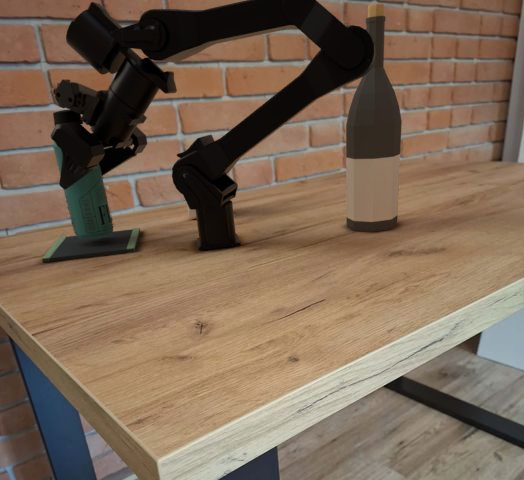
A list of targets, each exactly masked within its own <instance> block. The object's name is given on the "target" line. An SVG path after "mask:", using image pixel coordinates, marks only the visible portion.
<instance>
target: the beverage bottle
mask: <svg viewBox="0 0 524 480" xmlns="http://www.w3.org/2000/svg"><path fill="white" fill-rule="evenodd" d="M52 116H53V125H54V127H55V126H56V124H63V123H72V122H79V123H80V124H81V125H84V122H83V121H82V120H81V118H82V114H79V113H76V112H74V111H72V110H70V109H62V110H58V111H55V112H52ZM52 148H53V151H54V155H55V159H56V164H57V168H58V172H59V176H60V175H61V168H62V156H63V155H62V151H61V149H60V148H59V147H58V146H57V145H56V143H55V142H54V141H53V143H52ZM99 164H100V163H98V164H97V165H98V166H97V167H96V168H95V169H93V170H92V171H91V172H89V173H88V174H87V175H85V176H84V177H83V178H81V179H80V180H78V181H77V182H76V183H74V184H73V185H72V186H70V187H69V188H67V189H65V190H64V189H63V194H64V198H65V203H66V207H67V211H68V212H67V213H68V214H69V220H70V222H71V225H72V226H71V227H72V231H73V233H74V234H75V236H77V237H79V238H92V237H98V236H103V235H107V234H110V233H112V232H114V226H115V225H114V222H113V216H112V215H113V214H111V209H110V206H109V201H108V193H107V191H106V186H105V183H104V177H103V176H102V171H101V170H102V169H100V166H101V165H99Z"/></svg>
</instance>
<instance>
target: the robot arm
mask: <svg viewBox="0 0 524 480" xmlns="http://www.w3.org/2000/svg"><path fill="white" fill-rule="evenodd" d="M290 29H298V30H299V31H301V33H302V34H303V35H305V36H306V37H307V38H308V39H309V40H310V42H312V43H313V44H314V45H316V46H317V47H318V48H319V50H318V52H317V53H316V54H315V55H314V57H313V58H312V59H311V61H310V62H309V63H308V65H306V67H305V68H304V69H303V71H302V72H301V73H300V74H299V75H298V76H296V77H295V78H294V79H292V81H290V82H289V83H287V85H285V86H284V87H283V88H281V89H280V90H279V91H278V92H276V93H275V94H274V95H272V96H271V97H270V98H269V99H268V100H266V101H265V102H264V103H262V104H261V105H260V106H259V107H258V108H256V109H255V110H254V111H253V112H251V113H250V114H249V115H247V117H245V118H244V119H243V120H242V121H240V122H239V123H238V124H237V125H235V126H234V127H232V128H231V129H230V130H229V131H228V132H226V133H225V134H224V135H222V136H221V137H219V138H218V139H216V140H215V138H214V136H213V134H207V135H203V136H200V137H197V138H196V139H195V140H194V141H193V142H192V143H191V145H190V146H189V147H188V148H187V149H185V151H181V152H179V153H177V154H176V157H178V159H177V160H176V162H174V164H173V166H172V168H171V178H172V183H173V185H174V187H175V189H176V190H177V191H178V192H179V194H181V195H182V196H183V198H184V200H185V202H186V205H187V204H188V206H189V208H190V209H191V210H196V218H195V219H196V224H197V232H198V237H196V245H197V250H198V251H206V250H214V249H221V248H229V247H230V248H231V247H238V246H241V245H242V244H241V239H240V238H239V236H238V233H236V225H235V215H234V206H233V205H234V203H233V201H232V199H235V198H236V196H237V191H238V187H239V185H238V183H237V182H236V181H235V180H234V179H233V178H232V177H230V175H229V173H230V172H231V171H232V169H233V168H234V167H235V166H236V164H237V163H238V161H239V160H241V158H242V157H243V156H245V155H246V154H248V153H249V152H250V151H252V150H253V149H254V148H256V147H257V146H259V145H260V144H261V143H263V142H264V141H265V140H266V139H268V138H269V137H270V136H271V135H272V134H274V133H275V132H276V131H278V130H280V129H282V127H284V125H286V124H287V123H289V122H290V121H291V120H293V119H294V118H296V116H298V115H299V114H300V113H302V112H303V111H304V110H306V109H307V108H308V107H310V106H311V105H313V104H314V103H315V102H317V100H319V99H321V98H323V97H325V96H327V95H329V94H331V93H333V92H336V91H337V90H340V89H342V88H344V87H345V86H347V85H349V84H351V83H354V82H355V81H357V80H359V79H362V77H363V76H364V75H366V74H367V73H368V72H369V71H370V69H371V68H372V66H373V64H374V60H375V56H376V52H375V45H374V42H373V40H372V37H371V36H370V34H369V33H368V32H367V30H366V29H364V27H362V26H359V25H354V24H353V25H352V24H348V25H345V24H344V23H343V22H342V21H341V20H340V19H338V18H337V16H335V15H334V14H333V13H332V12H331V11H330V10H328V9H327V8H326V7H325V6H323V5H322V4H321V3H320V2H319V1H318V0H242V1H238V2H237V1H236V2H232V3H228V4H224V5H219V6H214V7H210V8H207V9H206V8H205V9H182V8H181V9H180V8H179V9H178V8H153V9H148V10H145V11H144V12H142V14H141V15H140V17H139V19H138V22H135V23H133V24H130V25H127V26H124V27H123V26H122V25H121V24H119V23H118V22H117V21H116V19H114V18H113V17H112V16H111V15H110V13H109V12H108V10H107V9H106V8H105V7H104V6H103V5H101V4H100V3H98V2H94V1H91V2H90V3H89V5H88V8H87V9H85V10H83V11H81V12H80V13H79V14H78V15H77V16H76V17H75V19H74V20H71V21H70V23H69V25H68V26H67V29H66V33H65V40H66V41H65V42H66V44H67V45H68V46H69V47H70V48H71V49H73V51H75V52H76V54H78V55H79V56H80V57H81V58H82V59H83V60H85V62H86V63H88V64H89V65H90V66H91V67H92V68H93V69H94V70H95V71H96V72H97V73H98V74H100V75H102V76H104V75H107V74H108V73H109V74H111V75H115V76H114V77H113V79H112V81H111V82H110V84H109V86H108V88H107V89H100V90H96V89H93V88H91V87H89V86H86V85H84V84H81V83H79V82H74V81H71V80H70V79H65V78H63V79H61V80H60V82H57V84H56V87H55V88H53V90H52V93H53V95H54V99H55V101H56V102H57V104H56V105H57V106H58V107H59V108H61V109H66V110H72V111H74V112H76V113H79V114H81V120H82V121H83V124H85V125H86V126H89V127H90V131H91V132H90V131H89V130H88V129H87V128H85V127H84V125H83V124H80V123H79V122H72V123H63V124H56V126H55V125H54V128H53V129H52V132H51V133H50V138H51V140H52V141H53V143H54V142H55V143H56V145H57V146H58V147H59V148H60V149H61V151H62V155H63V156H62V168H61V175H60V174H59V182H58V184H59V187H61V188H62V190H63V191H64V190H65V189H67V188H69V187H70V186H72V185H73V184H74V183H76V182H77V181H78V180H80V179H81V178H83V177H84V176H85V175H87V174H88V173H89V172H91V171H92V170H93V169H95V168H96V167H97V166H98V165H97V164H98V163H100V164H99V165H101V166H100V169H102V170H101V171H102V177H104V176H105V175H107V174H108V173H110V172H112V171H113V170H115V169H116V168H118V167H120V166H121V165H123V164H125V163H126V162H128V161H130V160H131V159H133V158H135V157H137V155H138V154H142V153H143V152H144V150H145V148H146V147H147V145H148V138H147V135H146V134H145V133H144V132H143V131H142V130H141V129H140V128H139V127H138V125H141V124H144V123H145V122H146V121H147V118H148V117H147V116H146V115H145V114H146V112H147V111H148V108H149V107H150V105H151V104H152V102H153V100H154V99H155V97H156V95H157V94H158V92H159V90H160V91H162V93H164V94H165V95H166V94H168V95H169V94H176V93H177V92H178V89H177V85H176V81H175V72H174V71H172V70H166V71H164V70H163V69H162V68H161V67H160V66H159V65H158V64H157V63H156V62H163V63H165V62H166V63H180V62H181V61H183V60H186V59H188V58H190V57H192V56H193V57H194V56H195V55H198V54H200V53H201V52H203V51H204V50H206V49H207V48H210V47H212V46H215V45H217V44H223V43H227V42H232V41H237V40H242V39H246V38H247V39H248V38H252V37H256V36H261V35H266V34H272V33H276V32H281V31H285V30H290ZM133 49H134V50H140V51H141V52H142V54H143V55H145V56H146V57H143V58H142V57H141V56H140V55H138V53H136V52H135V51H134V50H133ZM155 61H156V62H155Z"/></svg>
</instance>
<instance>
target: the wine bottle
mask: <svg viewBox="0 0 524 480" xmlns="http://www.w3.org/2000/svg"><path fill="white" fill-rule="evenodd" d="M384 10H385V5H384V3H379V2H378V3H372V4H371V3H370V4H369V5H368V6H367V17H366V18H365V24H366V26H365V27H366V29H365V30H367V32H368V33H369V34H370V36H371V37H372V40H373V42H374V45H375V52H376V56H375V60H374V64H373V66H372V68H371V69H370V71H369V72H368V73H367V74H366V75H364V76H363V77H361V78H360V81H359V82H358V85H357V88H356V90H355V91H354V94H353V97H352V100H351V103H350V106H349V109H348V113H347V119H346V122H345V123H346V124H345V174H346V175H345V177H346V178H345V179H346V180H345V182H346V183H345V184H346V185H345V186H346V188H345V189H346V190H345V191H346V193H345V197H346V198H345V199H346V202H345V203H346V207H345V208H346V210H345V211H346V213H345V214H346V216H345V217H346V227H347V228H349V229H351V230H352V231H354V232H355V231H357V232H369V233H370V232H372V233H373V232H381V231H387V230H388V231H389V230H392V229H393V228H394V227H396V226H397V225H398V220H399V219H398V218H399V217H398V216H399V198H400V197H399V196H400V174H401V173H400V169H401V150H402V149H401V147H402V146H401V145H402V125H403V124H402V123H403V122H402V121H403V120H402V115H401V109H400V105H399V102H398V101H399V100H398V97H397V94H396V91H395V89H394V87H393V85H392V82H391V80H390V78H389V77H388V75H387V71H386V70H385V68H384V67H385V66H384V65H385V64H384V63H385V62H384V61H385V60H384V59H385V30H386V29H385V26H386V24H385V23H386V16H385V15H384V12H385V11H384Z"/></svg>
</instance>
